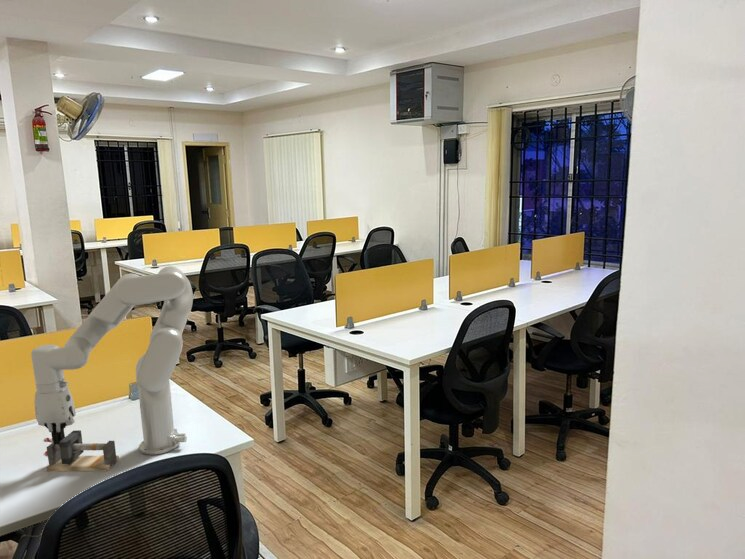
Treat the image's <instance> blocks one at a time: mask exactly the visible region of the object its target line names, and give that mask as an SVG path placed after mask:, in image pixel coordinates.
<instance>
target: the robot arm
mask: <svg viewBox="0 0 745 559" xmlns="http://www.w3.org/2000/svg"><path fill="white" fill-rule="evenodd" d="M192 288H193V287H192V284H191V282H190V280H189V278H188V277H187V276H186V275H185V273H184V272H183V271H182V270H181V269H180V268H178V267H176V266H169V265H168V266H164V267H163V268H161V269H160V270H159V272H158V273H155V274H154V273H153V274H148V275H141V276H140V275H139V274H136V273H125V274H124V275H122V276H121V277H120V278H119V279H118V280H117V281H116V282H115V283H114V285H113V286H112V287H111V288H110V290H108V292H107V293H106V294H105V295H104V296H103V298H102V299H101V300H100V301H99V302H98V304H97V305H96V306H95V307H94V308H93V309H92V311H91V312H90V313H89V315H88V316H87V317H86V318H85V319H84V321H83V322H82V323H81V324H80V325H79V327H78V328H77V329H76V330H75V331H74V332H73V334H72V335H71V336H70V337H69V339H68V340H67V341H66V343H65V344H64V346H62V347H59V345H57V344H45V345H40V346H39V345H38V346H37V347H34V348H33V349H32V351H31V354H30V355H31V356H30V357H31V362H32V369H33V374H34V382H35V389H36V391H35V393H34V414H35V419H36V422H37V425H38V426H42V427H45V428H46V429H48V432H49V433H51V434H50V435H51V438H52V440H53V442H52V443H53V444H54V445H56V444H57V445H58V444H59V442H60V441H61V440H62V439H63V438H65V437H66V436H65V429H66V427H69V426H72V425H73V424H74V423H75V419H74V418H75V417H76V415H77V414H76V413H77V412H76V407H75V402H74V398H73V395H72V393H71V391H70V388H69V384H70V383H69V382H68V381H66V379H65V373H64V371H67V370H68V371H69V370H79V369H82V368H83V367H84V366H86V364H87V363H88V361H89V358H90V355H91V352H92V351H93V349H95V347H96V346H97V344H98V343H100V341H101V339H103V338H104V337H105V335H106V334H107V333H109V332H110V331H111V330H114V329H115V328H118V327H119V325H120V324H122V321H124V319H125V318H126V317H127V316H128V314H129V313H130V311H132V309H133V308H134V307H135V306H140V305H142V306H143V305H147V304H154V303H158V302H162V301H163V305H162V308H161V309H160V310H161V311H160V312H159V315H158V318H157V320H156V322H155V324H154V326H153V329H152V331H151V332H150V334H149V344H148V347H147V349H146V351H145V353H144V354H142V355H141V357H140V358H139V359H138V360H137V362H136V366H135V379H136V383H137V384H136V385H137V390H138V399H139V409H140V419H141V428H142V429H141V430H142V437H143V440H142V441H141V442H140V443H139V444H138V449H139V452H140V453H142V454H144V455H153V456H154V455H160V454H166V453H169V452H171V451H173V450H174V449H176V448H177V447H178V446H179V445H180V444H181V443H186V442H187V437H188V436H186V433H179V432H178V429H177V428H175V425H174V415H173V405H172V392H171V385H170V384H171V383H170V379H171V377H172V375H173V372H174V370H175V368H176V365H177V363H178V361H179V359H180V356H181V353H182V350H183V345H184V340H183V332H184V330H185V327H186V324H187V323H188V319H189V316H190V314H191V311H192V308H193V301H194V294H193V289H192Z"/></svg>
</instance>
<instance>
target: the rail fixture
mask: <svg viewBox="0 0 745 559" xmlns="http://www.w3.org/2000/svg"><path fill="white" fill-rule="evenodd" d="M71 449H72V450H84V451H102V453H103V454H102V455H79V456H78V457H77V458H76V459H75V460H74V461H73V462H72V463H70V464H62V461H61V454H60V447H59V444H58V445H57V444H56V445H54V444H53V442H51V443H50V444H49V445H48V446H46V451H47V454H48V456H47V459H48V460H47V461H48V465H47V466H46V467H45V470H46V472H99V471H100V472H102V471H103V472H106V471H107V472H108V471H109V470H110V469H111V468H113V466H114V465H115V464H116V463H117V462H118V461H119V460H120V455H117V451H116V442H115V440H107V442H105V443H97V442H96V443H83V444H71Z"/></svg>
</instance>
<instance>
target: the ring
mask: <svg viewBox="0 0 745 559" xmlns="http://www.w3.org/2000/svg"><path fill="white" fill-rule="evenodd" d="M71 444H84V443H83V436H82V430H72V431H70V433H68V434H67V435H66V436H65V438H63V439H62V440H61V441H60V442H59V447H60V454H61V461H62V464H70V463H72V462H73V461H74V460H75V459H76V458H77V457H78V456H82V454H83V453H84V451H85V450H72V449H71Z"/></svg>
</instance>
